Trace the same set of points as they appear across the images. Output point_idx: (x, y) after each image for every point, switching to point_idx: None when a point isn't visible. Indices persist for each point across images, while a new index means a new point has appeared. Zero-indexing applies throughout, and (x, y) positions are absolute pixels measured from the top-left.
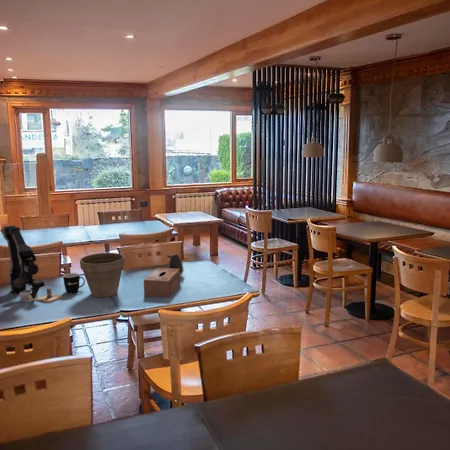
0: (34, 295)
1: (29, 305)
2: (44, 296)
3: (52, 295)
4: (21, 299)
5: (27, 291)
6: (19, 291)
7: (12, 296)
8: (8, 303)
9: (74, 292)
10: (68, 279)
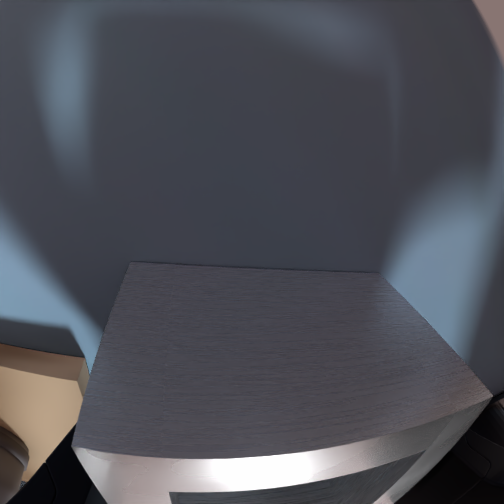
0: None
1: (2, 89)
2: None
3: (34, 472)
4: (367, 287)
5: (345, 493)
6: None
7: (495, 351)
8: (487, 112)
9: None
10: None
